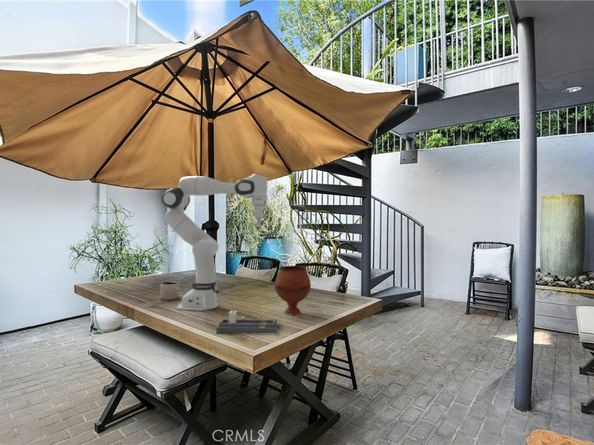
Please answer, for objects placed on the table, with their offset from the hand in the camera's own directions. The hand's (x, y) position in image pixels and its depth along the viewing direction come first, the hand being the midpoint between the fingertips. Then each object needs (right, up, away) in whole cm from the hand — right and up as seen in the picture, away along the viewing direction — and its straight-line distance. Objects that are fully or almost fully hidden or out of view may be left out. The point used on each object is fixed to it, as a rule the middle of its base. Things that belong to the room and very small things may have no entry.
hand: (258, 226), depth 191 cm
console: (-1, -46, -37) cm, 59 cm away
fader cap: (-8, -44, -37) cm, 58 cm away
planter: (-59, -46, +22) cm, 78 cm away
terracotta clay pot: (+19, -47, -10) cm, 51 cm away
